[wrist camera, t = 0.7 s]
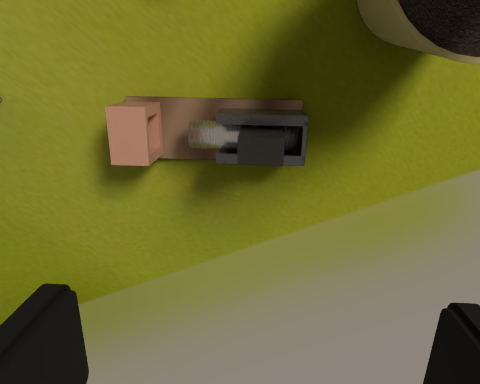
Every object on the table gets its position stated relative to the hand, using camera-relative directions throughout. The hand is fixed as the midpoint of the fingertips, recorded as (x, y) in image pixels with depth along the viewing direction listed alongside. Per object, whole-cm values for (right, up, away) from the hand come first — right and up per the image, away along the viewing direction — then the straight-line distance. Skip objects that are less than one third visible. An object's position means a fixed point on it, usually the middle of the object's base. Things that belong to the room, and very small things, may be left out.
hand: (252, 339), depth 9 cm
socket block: (-11, +12, +32) cm, 36 cm away
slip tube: (0, +10, +30) cm, 31 cm away
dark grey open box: (+2, +11, +32) cm, 34 cm away
